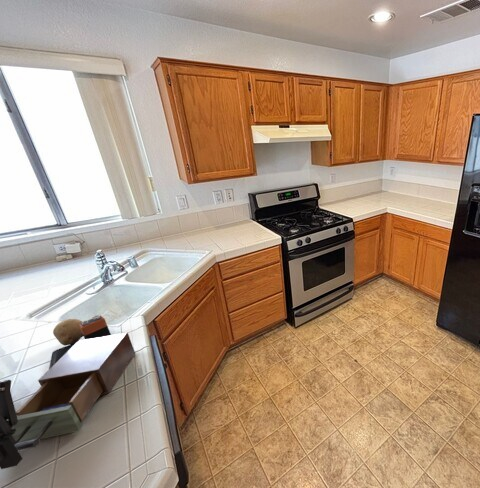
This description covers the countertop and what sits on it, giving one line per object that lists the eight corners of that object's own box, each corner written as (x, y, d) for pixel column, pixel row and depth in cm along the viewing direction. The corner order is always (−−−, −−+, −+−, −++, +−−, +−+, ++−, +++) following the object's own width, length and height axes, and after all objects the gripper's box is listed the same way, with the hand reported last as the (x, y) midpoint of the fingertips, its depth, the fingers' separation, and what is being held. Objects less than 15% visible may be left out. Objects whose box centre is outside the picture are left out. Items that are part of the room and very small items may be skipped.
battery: (112, 338, 101) (103, 316, 98) (90, 348, 96) (80, 325, 93) (108, 334, 103) (100, 312, 100) (86, 344, 98) (76, 322, 95)
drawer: (62, 455, 60) (49, 433, 57) (-8, 471, 58) (-25, 449, 55) (113, 381, 80) (104, 362, 77) (62, 391, 77) (52, 371, 75)
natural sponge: (90, 331, 106) (81, 310, 103) (92, 341, 100) (83, 319, 97) (60, 342, 100) (49, 321, 97) (60, 354, 94) (49, 331, 91)
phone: (81, 340, 99) (79, 362, 88) (82, 343, 99) (81, 364, 88) (52, 351, 94) (47, 375, 83) (53, 353, 94) (48, 378, 83)
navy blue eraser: (39, 422, 67) (35, 415, 66) (46, 414, 69) (42, 407, 68) (80, 414, 68) (76, 407, 68) (86, 406, 71) (82, 399, 70)
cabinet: (109, 393, 76) (98, 369, 73) (51, 405, 74) (37, 380, 71) (135, 353, 92) (127, 332, 89) (88, 362, 89) (78, 340, 86)
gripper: (-65, 404, 42) (4, 495, 50) (9, 349, 54) (55, 429, 62) (-123, 415, 41) (-44, 507, 49) (-34, 356, 53) (18, 437, 61)
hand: (12, 463), depth 55 cm, fingers closed
